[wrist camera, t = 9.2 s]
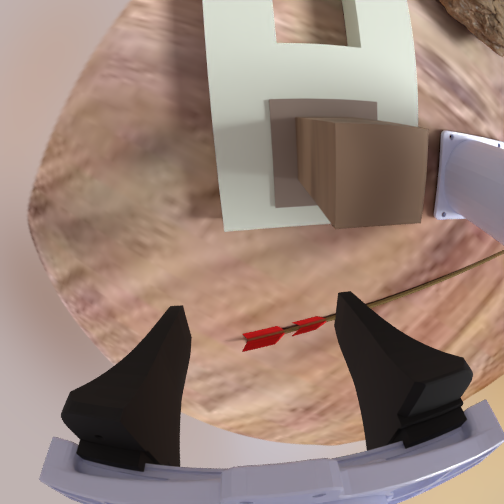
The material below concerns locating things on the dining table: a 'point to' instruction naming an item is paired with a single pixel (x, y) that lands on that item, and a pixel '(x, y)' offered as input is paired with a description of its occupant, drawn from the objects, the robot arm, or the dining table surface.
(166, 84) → the dining table surface
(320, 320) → the arrow
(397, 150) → the block
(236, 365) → the dining table surface
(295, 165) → the board
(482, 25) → the rock
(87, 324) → the dining table surface
